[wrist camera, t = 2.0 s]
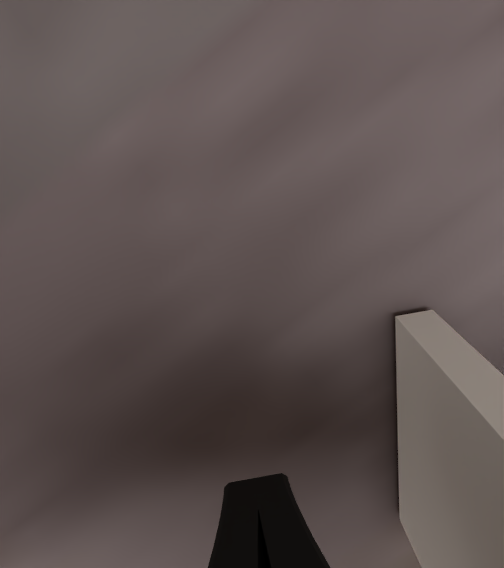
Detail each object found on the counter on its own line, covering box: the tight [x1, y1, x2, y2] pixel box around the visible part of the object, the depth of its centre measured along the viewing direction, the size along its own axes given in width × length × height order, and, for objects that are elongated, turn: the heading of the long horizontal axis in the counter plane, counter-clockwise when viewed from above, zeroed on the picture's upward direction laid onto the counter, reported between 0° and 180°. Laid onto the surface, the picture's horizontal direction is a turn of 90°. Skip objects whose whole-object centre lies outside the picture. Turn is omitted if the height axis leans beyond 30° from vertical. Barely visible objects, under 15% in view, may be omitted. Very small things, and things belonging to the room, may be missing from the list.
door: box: [395, 310, 504, 568], centre depth 11 cm, size 1×8×5 cm, turn 8°
